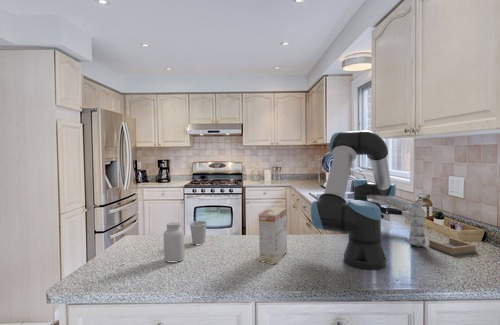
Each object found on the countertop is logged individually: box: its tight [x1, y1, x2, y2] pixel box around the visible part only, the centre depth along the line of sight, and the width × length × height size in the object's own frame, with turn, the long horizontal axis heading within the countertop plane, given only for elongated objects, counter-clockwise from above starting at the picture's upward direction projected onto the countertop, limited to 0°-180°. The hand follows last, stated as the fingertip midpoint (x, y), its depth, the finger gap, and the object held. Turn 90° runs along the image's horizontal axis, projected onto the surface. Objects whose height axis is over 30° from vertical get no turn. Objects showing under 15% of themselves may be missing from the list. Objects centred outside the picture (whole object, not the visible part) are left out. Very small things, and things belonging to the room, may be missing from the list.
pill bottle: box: [163, 221, 185, 261], centre depth 113 cm, size 8×8×15 cm
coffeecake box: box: [258, 206, 288, 265], centre depth 114 cm, size 15×7×20 cm, turn 154°
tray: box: [428, 237, 478, 257], centre depth 119 cm, size 12×12×3 cm
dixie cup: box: [189, 220, 208, 245], centre depth 134 cm, size 8×8×10 cm
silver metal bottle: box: [408, 200, 427, 247], centre depth 124 cm, size 6×7×20 cm
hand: (401, 217), depth 134 cm, fingers open, 13 cm apart
